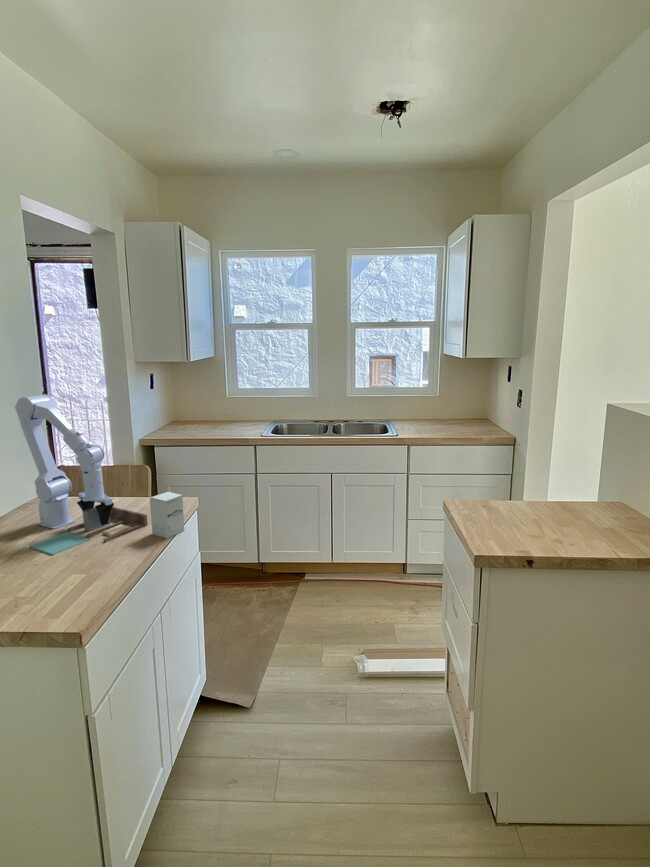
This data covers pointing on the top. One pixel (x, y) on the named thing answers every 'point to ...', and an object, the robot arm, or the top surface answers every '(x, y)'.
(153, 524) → the supplement box
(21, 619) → the top surface
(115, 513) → the rack
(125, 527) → the offcut top
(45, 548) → the mat
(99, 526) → the block
